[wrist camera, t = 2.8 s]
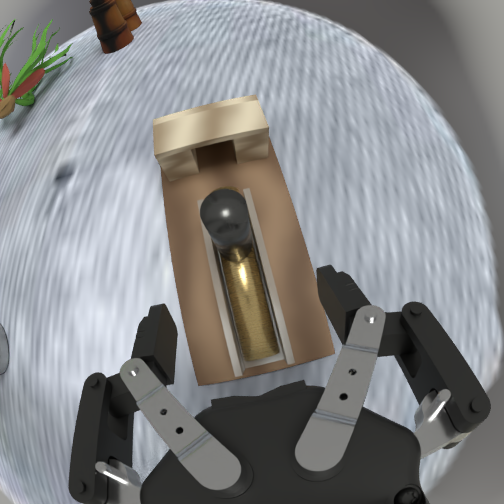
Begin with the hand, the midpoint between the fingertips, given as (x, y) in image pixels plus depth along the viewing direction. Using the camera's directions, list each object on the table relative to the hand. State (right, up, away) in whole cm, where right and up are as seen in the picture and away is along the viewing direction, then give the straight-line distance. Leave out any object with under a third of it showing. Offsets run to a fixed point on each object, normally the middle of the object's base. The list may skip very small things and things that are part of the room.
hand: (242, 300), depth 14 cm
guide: (-1, +4, +16) cm, 16 cm away
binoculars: (-32, +57, +32) cm, 73 cm away
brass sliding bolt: (0, 0, +13) cm, 13 cm away
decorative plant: (-55, +43, +29) cm, 76 cm away
